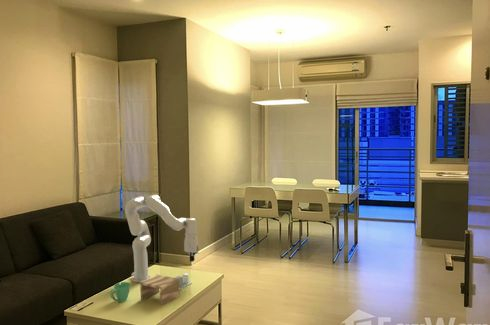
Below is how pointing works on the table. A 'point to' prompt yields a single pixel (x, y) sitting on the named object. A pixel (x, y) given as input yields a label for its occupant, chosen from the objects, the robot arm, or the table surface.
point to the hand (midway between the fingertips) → (192, 261)
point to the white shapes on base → (183, 281)
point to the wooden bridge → (166, 286)
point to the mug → (120, 291)
